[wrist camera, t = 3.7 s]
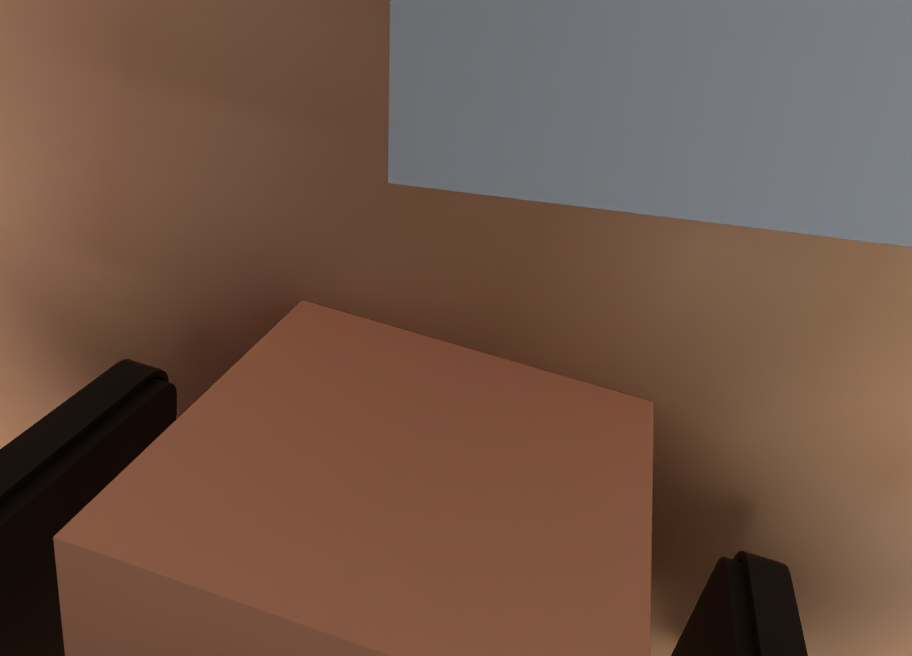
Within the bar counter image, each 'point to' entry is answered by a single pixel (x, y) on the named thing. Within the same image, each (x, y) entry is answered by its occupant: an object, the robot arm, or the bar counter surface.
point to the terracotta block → (372, 510)
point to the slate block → (663, 108)
